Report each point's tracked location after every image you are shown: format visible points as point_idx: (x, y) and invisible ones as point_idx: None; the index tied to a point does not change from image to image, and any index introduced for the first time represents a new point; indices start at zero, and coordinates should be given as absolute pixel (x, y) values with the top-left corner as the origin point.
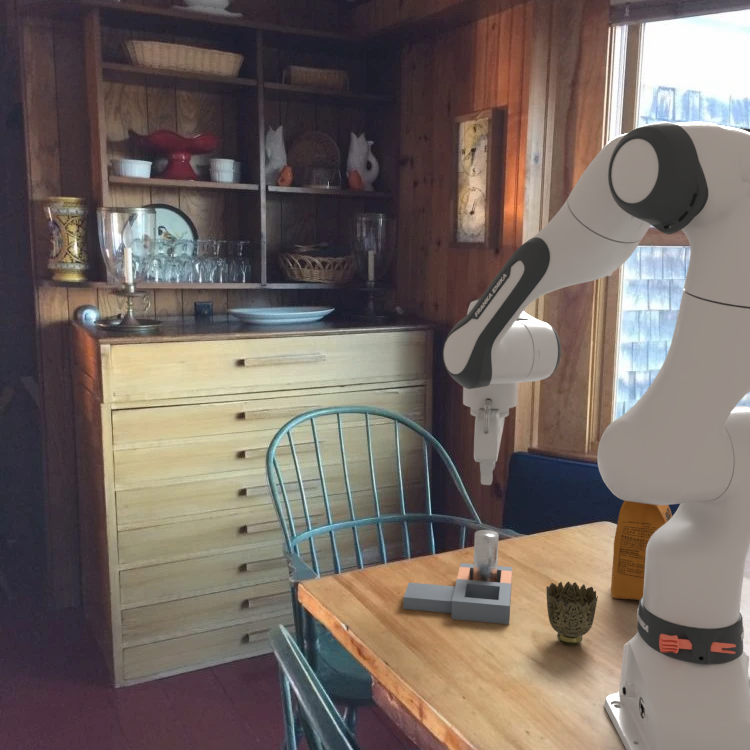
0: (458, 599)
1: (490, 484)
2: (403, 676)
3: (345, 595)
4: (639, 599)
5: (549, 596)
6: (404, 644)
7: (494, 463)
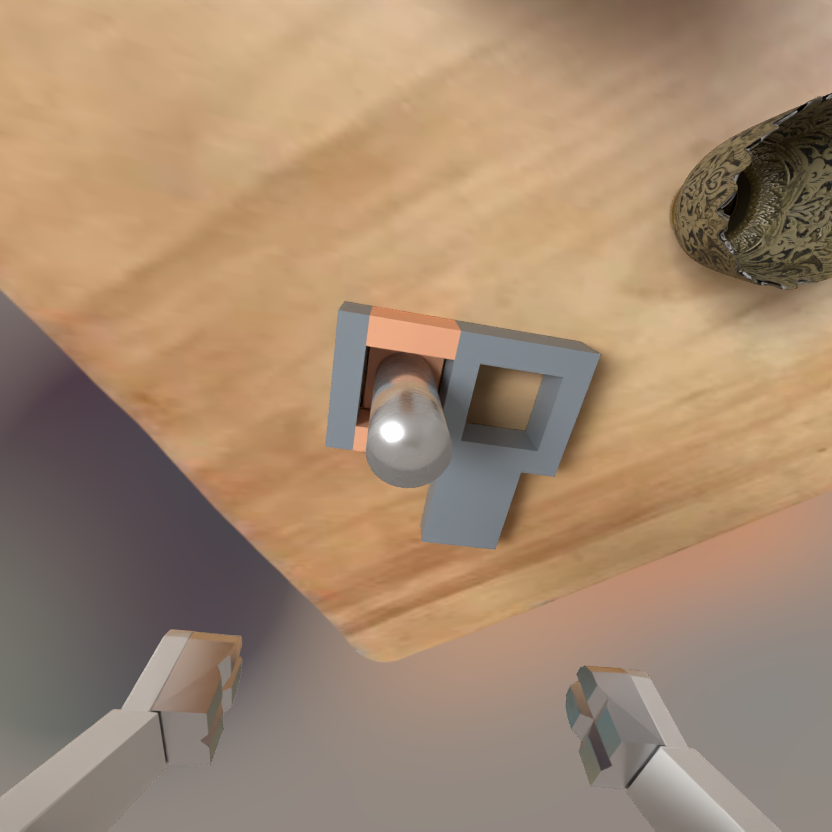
0: (549, 463)
1: (641, 672)
2: (729, 528)
3: (430, 613)
4: None
5: (795, 282)
6: (628, 528)
7: (219, 684)
